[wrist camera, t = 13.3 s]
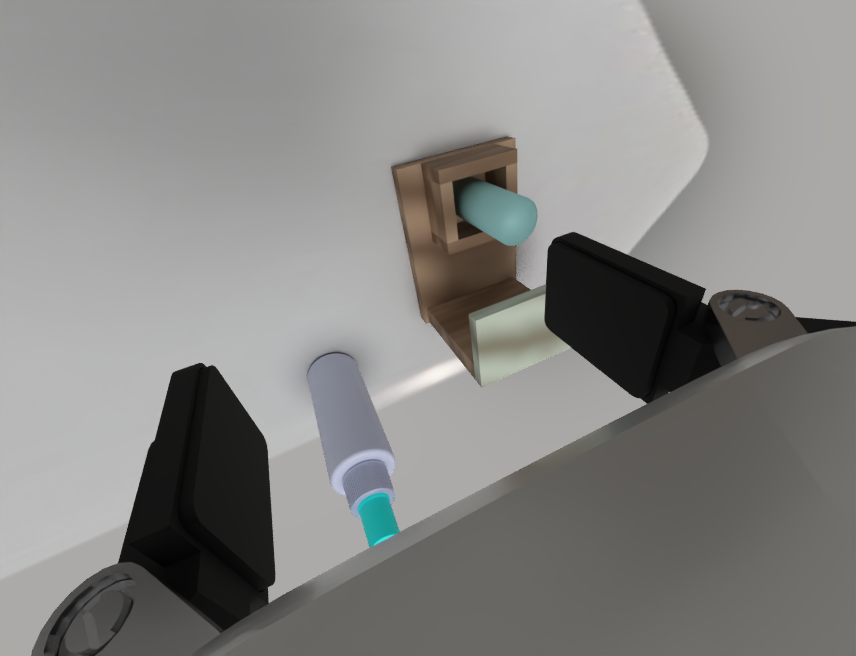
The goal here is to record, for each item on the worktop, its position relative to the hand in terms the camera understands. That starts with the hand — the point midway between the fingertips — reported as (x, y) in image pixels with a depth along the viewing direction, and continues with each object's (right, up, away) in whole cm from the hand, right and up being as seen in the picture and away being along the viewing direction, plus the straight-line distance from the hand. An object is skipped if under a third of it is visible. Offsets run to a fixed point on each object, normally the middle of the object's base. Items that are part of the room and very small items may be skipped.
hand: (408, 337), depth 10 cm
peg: (+4, +14, +28) cm, 31 cm away
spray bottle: (-11, -5, +35) cm, 37 cm away
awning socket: (+4, +11, +32) cm, 34 cm away
